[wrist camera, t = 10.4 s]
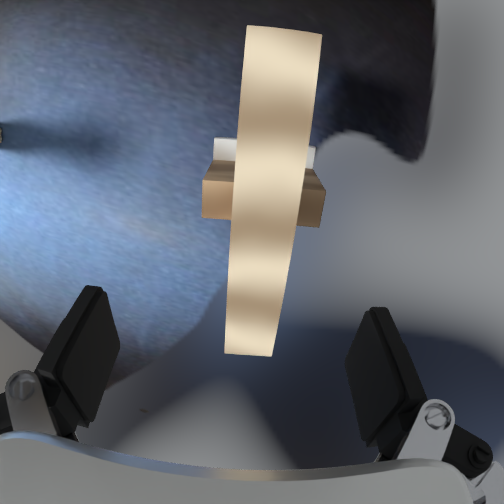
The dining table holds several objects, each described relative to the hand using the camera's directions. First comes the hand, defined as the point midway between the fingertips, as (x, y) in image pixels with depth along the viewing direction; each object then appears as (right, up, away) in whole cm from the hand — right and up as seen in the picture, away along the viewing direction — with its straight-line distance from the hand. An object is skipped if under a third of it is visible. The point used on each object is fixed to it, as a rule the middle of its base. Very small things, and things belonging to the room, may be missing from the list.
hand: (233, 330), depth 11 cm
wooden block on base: (+1, +10, +18) cm, 20 cm away
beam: (+1, +6, +12) cm, 14 cm away
